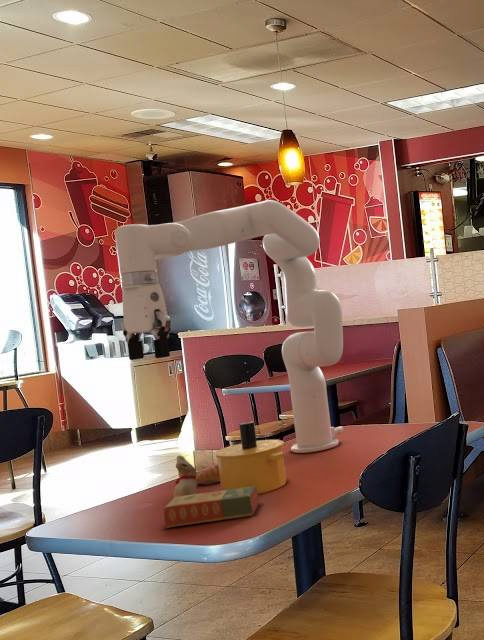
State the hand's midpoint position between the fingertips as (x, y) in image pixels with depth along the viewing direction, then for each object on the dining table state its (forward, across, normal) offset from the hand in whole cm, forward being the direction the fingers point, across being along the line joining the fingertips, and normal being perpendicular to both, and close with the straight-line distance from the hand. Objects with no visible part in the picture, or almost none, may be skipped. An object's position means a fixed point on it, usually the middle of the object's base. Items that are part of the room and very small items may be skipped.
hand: (149, 358), depth 164 cm
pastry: (+31, 0, -14) cm, 34 cm away
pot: (+31, -16, -11) cm, 37 cm away
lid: (+23, -16, -11) cm, 30 cm away
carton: (+31, -26, +7) cm, 41 cm away
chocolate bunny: (+31, -7, 0) cm, 32 cm away
